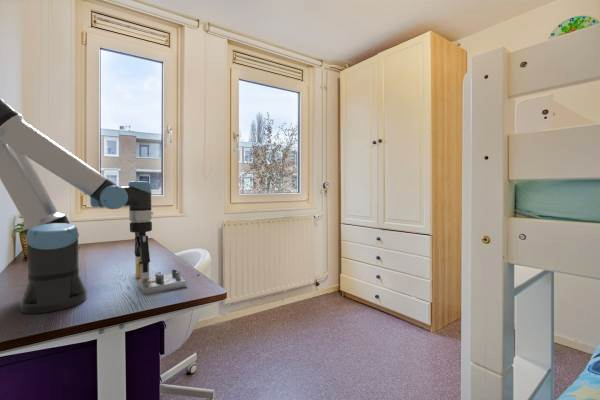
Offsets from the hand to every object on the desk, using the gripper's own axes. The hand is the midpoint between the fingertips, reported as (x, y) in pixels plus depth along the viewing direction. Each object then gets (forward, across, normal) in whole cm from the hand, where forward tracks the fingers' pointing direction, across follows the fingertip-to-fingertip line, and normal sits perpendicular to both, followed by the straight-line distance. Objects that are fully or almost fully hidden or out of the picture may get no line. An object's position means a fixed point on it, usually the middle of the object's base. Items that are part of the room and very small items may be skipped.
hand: (142, 276), depth 114 cm
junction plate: (0, -16, -4) cm, 16 cm away
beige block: (0, 0, 0) cm, 0 cm away
